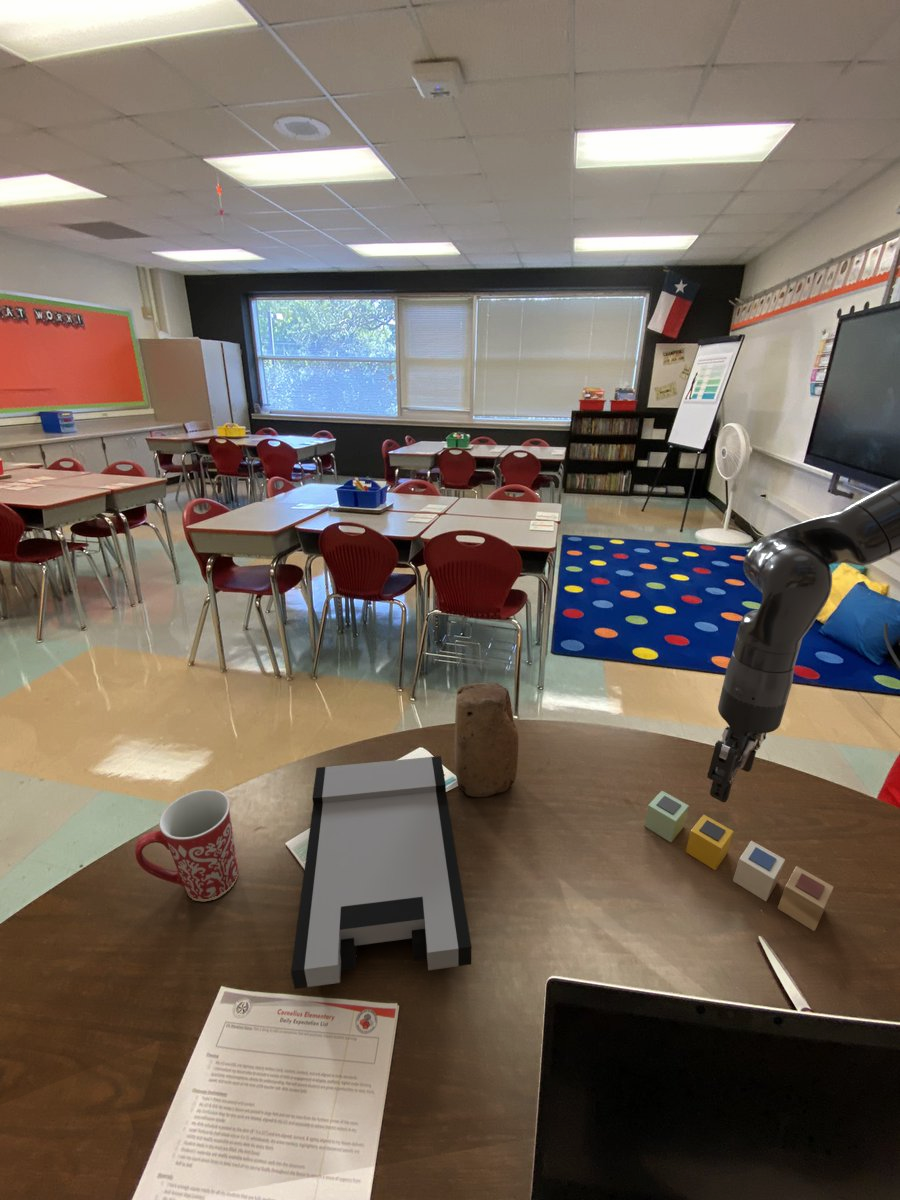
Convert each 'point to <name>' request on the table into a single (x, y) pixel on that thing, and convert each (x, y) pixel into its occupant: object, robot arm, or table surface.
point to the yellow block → (709, 842)
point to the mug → (195, 844)
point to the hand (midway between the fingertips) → (730, 782)
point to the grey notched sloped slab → (379, 870)
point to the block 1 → (485, 740)
